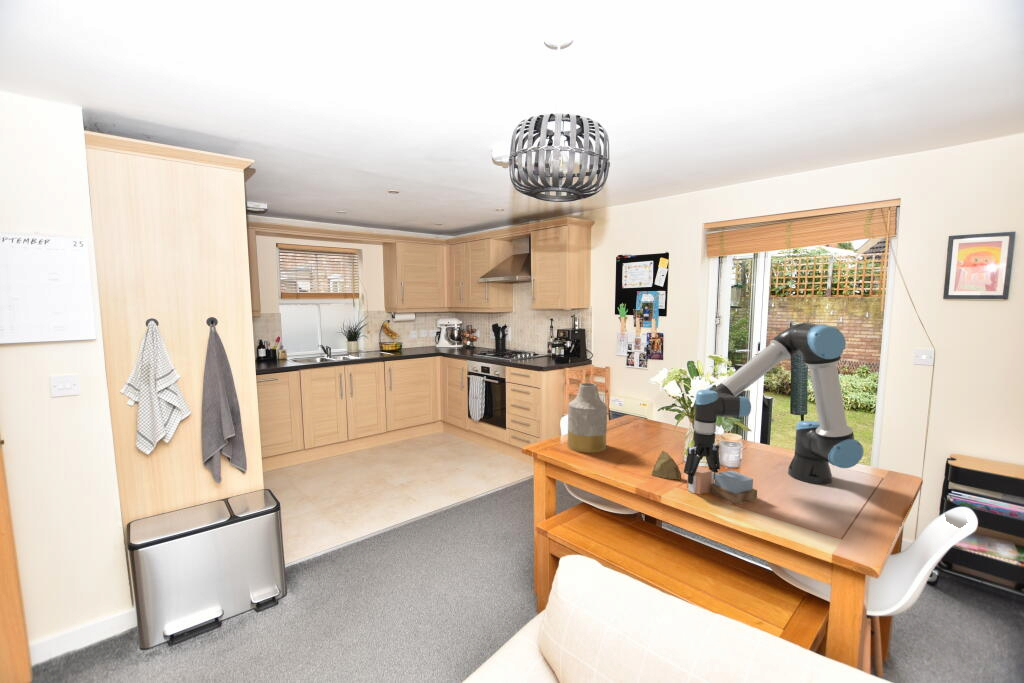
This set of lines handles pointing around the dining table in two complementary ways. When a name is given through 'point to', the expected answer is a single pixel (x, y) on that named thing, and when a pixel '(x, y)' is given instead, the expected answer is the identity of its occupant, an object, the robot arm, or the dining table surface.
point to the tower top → (734, 481)
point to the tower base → (733, 495)
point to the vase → (587, 421)
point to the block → (702, 480)
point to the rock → (666, 467)
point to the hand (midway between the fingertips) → (700, 489)
